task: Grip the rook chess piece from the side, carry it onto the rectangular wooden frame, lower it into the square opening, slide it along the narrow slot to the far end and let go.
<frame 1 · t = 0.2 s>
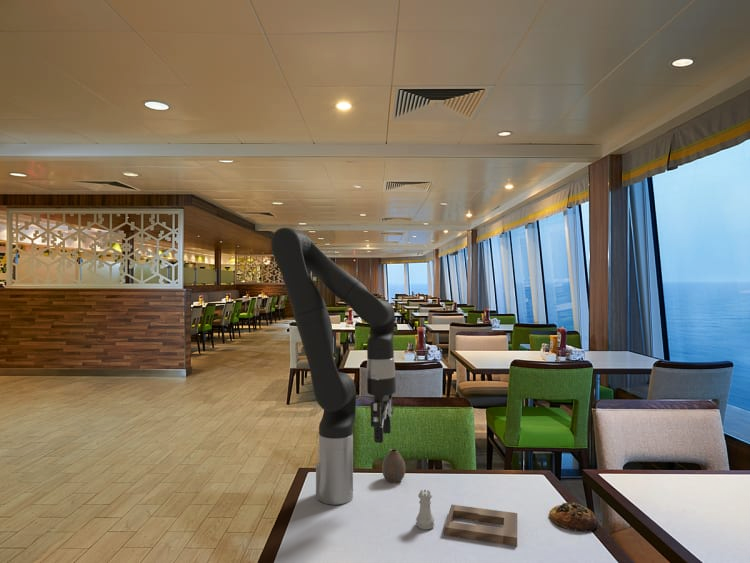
hand: (382, 437, 124), 17 cm above the table, tool pointing down, fingers open, 8 cm apart
rectangular wooden frame: (481, 527, 111), on the table
vase: (393, 481, 139), on the table
bread roll: (573, 522, 115), on the table
rook chess piece: (425, 526, 112), on the table
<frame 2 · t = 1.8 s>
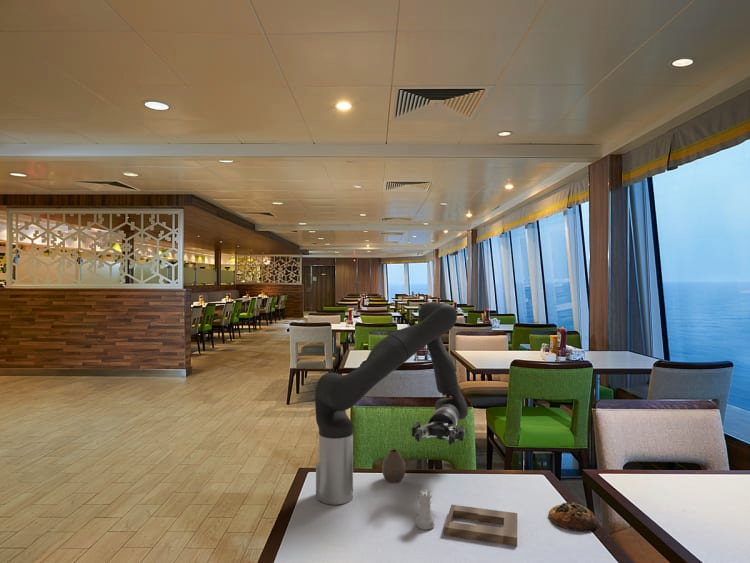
hand: (434, 439, 124), 17 cm above the table, tool horizontal, fingers open, 8 cm apart
nothing on the table moved.
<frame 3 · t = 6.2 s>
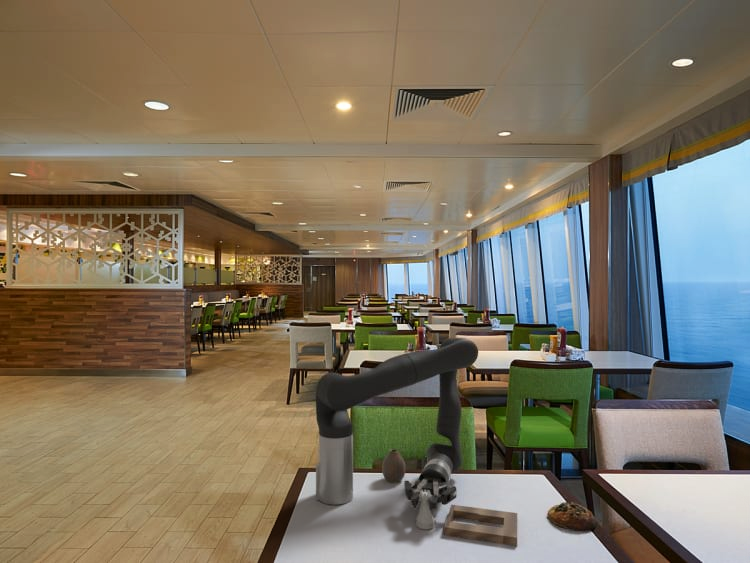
hand: (422, 505, 110), 6 cm above the table, tool horizontal, fingers closed on rook chess piece, 3 cm apart
rook chess piece: (425, 526, 112), on the table, touching gripper
everything else where it was.
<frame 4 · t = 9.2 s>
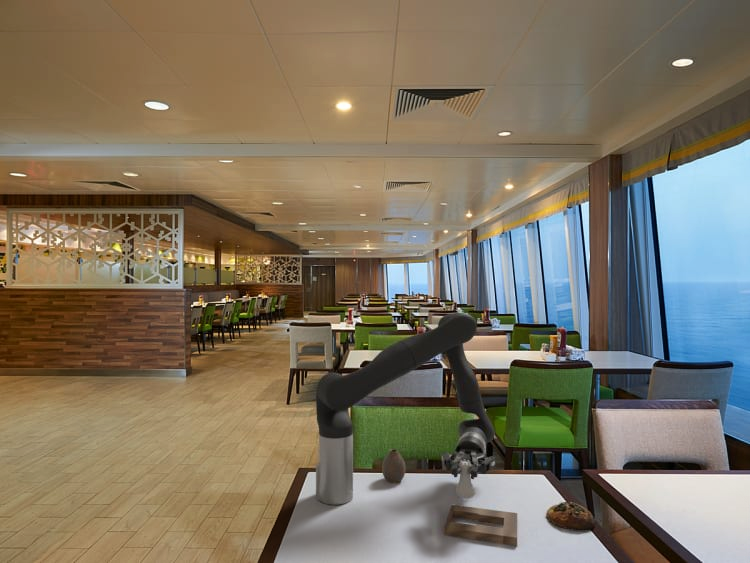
hand: (463, 474, 110), 13 cm above the table, tool horizontal, fingers closed on rook chess piece, 3 cm apart
rook chess piece: (465, 495, 113), point 7 cm above the table, touching gripper
everything else where it was.
when the fingers open (6 cm above the table, at t = 12.2 s): rook chess piece stays where it is, resting in rectangular wooden frame.
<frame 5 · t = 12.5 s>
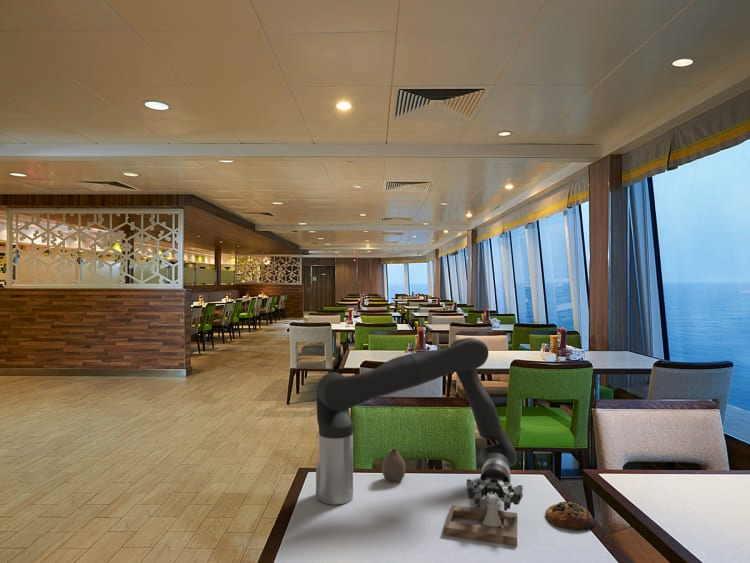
hand: (492, 504, 108), 7 cm above the table, tool horizontal, fingers open, 5 cm apart
rook chess piece: (492, 529, 111), resting in rectangular wooden frame
everything else where it was.
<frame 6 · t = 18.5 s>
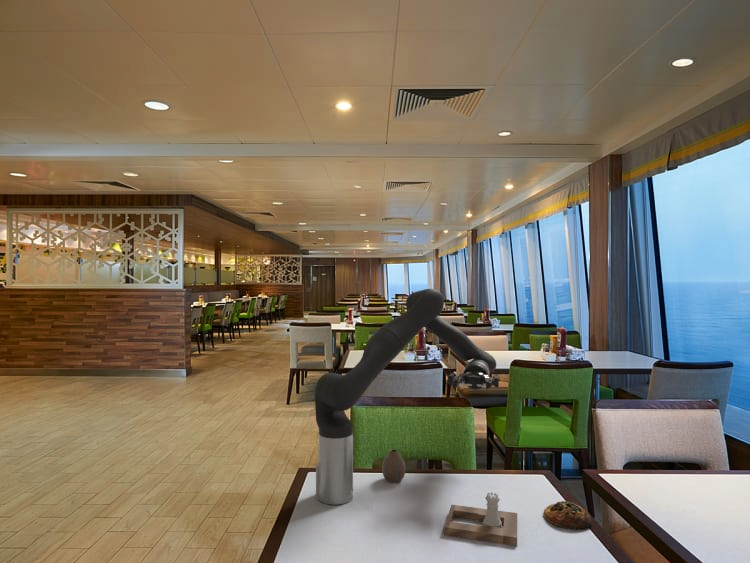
hand: (471, 384, 130), 30 cm above the table, tool horizontal, fingers open, 8 cm apart
at the end: rook chess piece 0.1 cm from the target spot on the rectangular wooden frame, point 0.0 cm above the rectangular wooden frame's base; rook chess piece tilted 0°; the gripper is holding nothing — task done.
